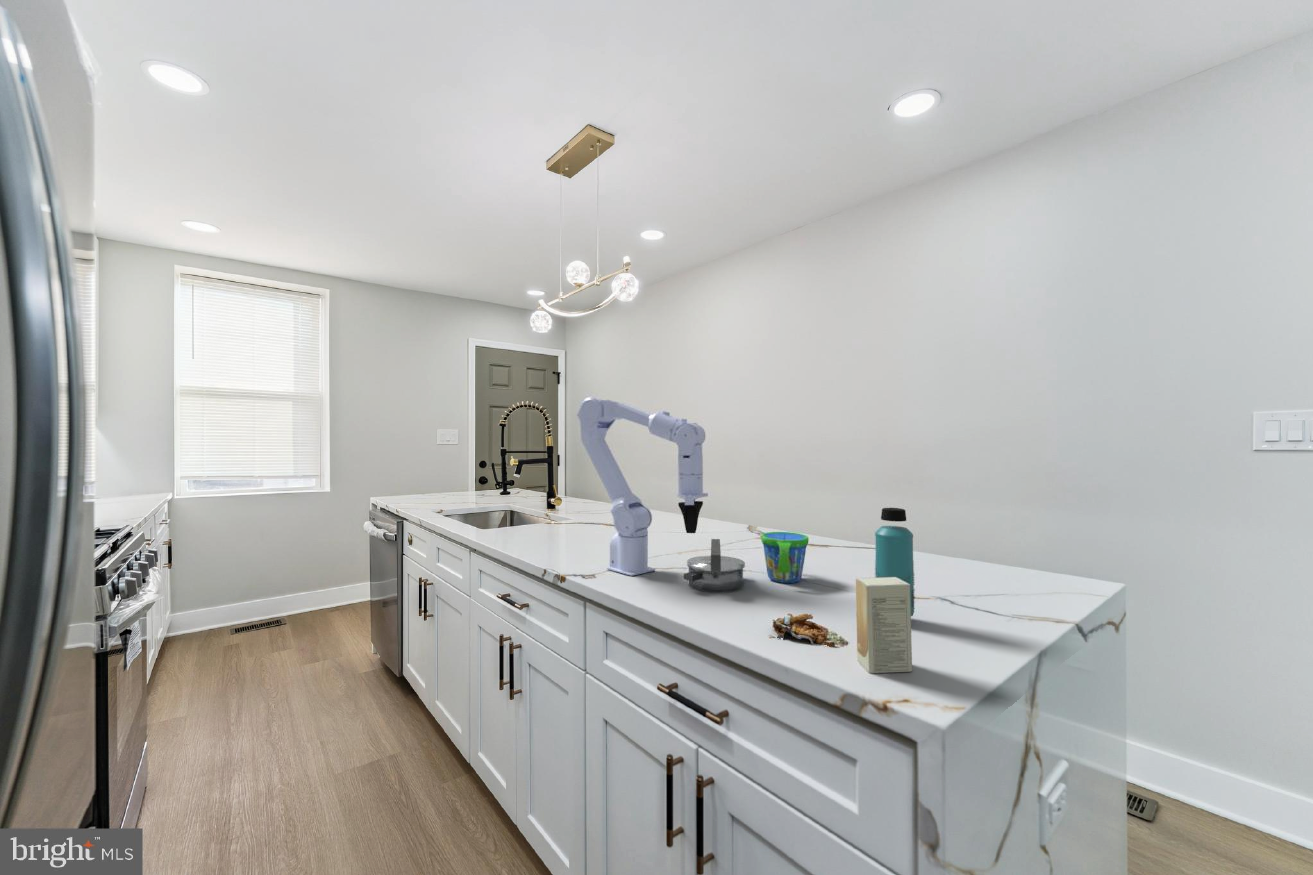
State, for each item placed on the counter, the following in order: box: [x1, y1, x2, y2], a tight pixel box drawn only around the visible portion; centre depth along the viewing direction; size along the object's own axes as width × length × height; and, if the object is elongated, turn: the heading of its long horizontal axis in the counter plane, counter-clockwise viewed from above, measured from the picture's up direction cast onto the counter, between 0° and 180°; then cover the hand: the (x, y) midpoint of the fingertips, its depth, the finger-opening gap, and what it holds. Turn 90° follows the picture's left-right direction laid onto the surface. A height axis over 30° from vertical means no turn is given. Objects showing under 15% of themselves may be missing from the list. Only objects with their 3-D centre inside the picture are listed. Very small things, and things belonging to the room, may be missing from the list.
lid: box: [686, 538, 745, 572], centre depth 118 cm, size 18×13×4 cm
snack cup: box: [760, 531, 809, 584], centre depth 123 cm, size 16×10×10 cm
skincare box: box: [855, 577, 913, 674], centre depth 75 cm, size 6×4×12 cm
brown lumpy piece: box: [767, 613, 847, 648], centre depth 87 cm, size 7×12×4 cm, turn 66°
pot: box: [683, 561, 746, 593], centre depth 118 cm, size 18×12×4 cm, turn 134°
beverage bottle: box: [874, 507, 916, 617], centre depth 95 cm, size 6×7×20 cm
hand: (691, 532), depth 125 cm, fingers closed
